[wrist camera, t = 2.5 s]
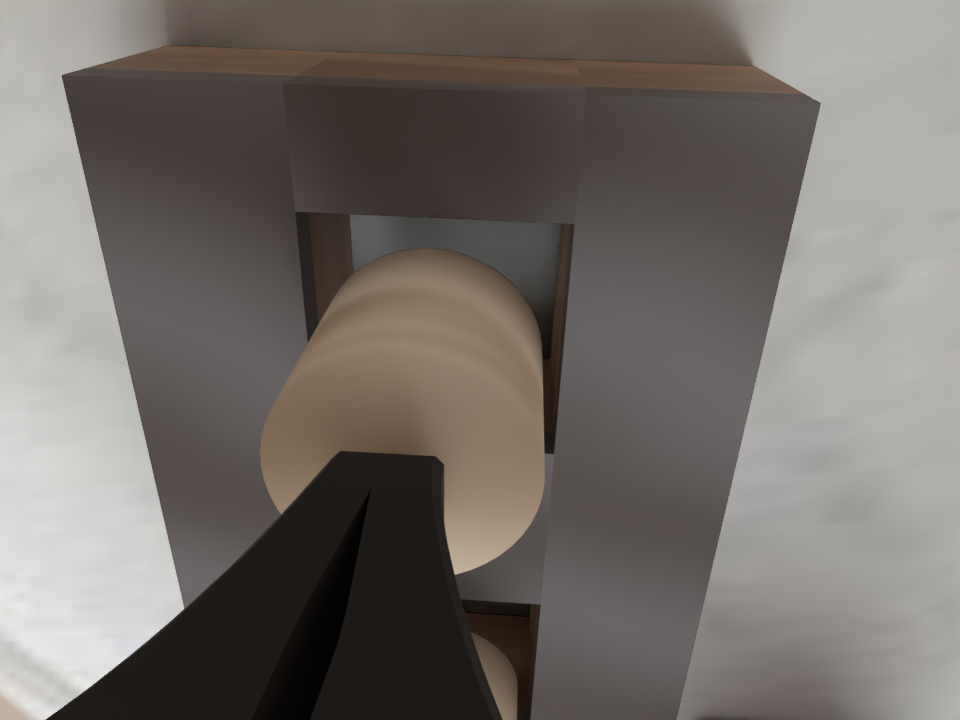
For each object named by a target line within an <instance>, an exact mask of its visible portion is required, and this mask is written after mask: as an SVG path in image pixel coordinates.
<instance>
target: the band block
mask: <svg viewBox="0 0 960 720" xmlns="http://www.w3.org/2000/svg"><path fill="white" fill-rule="evenodd" d="M62 79H63V83H64V88H65V92H66V96H67V101H68V105H69V109H70V114H71V118H72V122H73V127H74V131H75V135H76V140H77V144H78V148H79V153H80V157H81V161H82V166H83V170H84V174H85V179H86V183H87V187H88V192H89V196H90V200H91V205H92V209H93V213H94V218H95V222H96V226H97V231H98V235H99V239H100V244H101V248H102V252H103V257H104V261H105V265H106V270H107V274H108V278H109V283H110V287H111V291H112V296H113V300H114V304H115V309H116V313H117V317H118V322H119V326H120V330H121V335H122V339H123V343H124V348H125V352H126V356H127V361H128V365H129V369H130V374H131V378H132V382H133V387H134V391H135V395H136V400H137V404H138V408H139V413H140V417H141V421H142V426H143V430H144V434H145V439H146V443H147V447H148V452H149V456H150V460H151V465H152V469H153V473H154V478H155V482H156V486H157V491H158V495H159V499H160V504H161V508H162V513H163V517H164V521H165V526H166V530H167V534H168V539H169V543H170V547H171V552H172V556H173V560H174V565H175V569H176V573H177V578H178V582H179V586H180V591H181V595H182V599H183V604H184V608H186V607H187V606H188V605H189V604H190V603H191V602H192V601H194V600H195V599H196V598H197V597H198V596H199V595H200V594H201V593H202V592H203V591H204V590H205V589H207V588H208V587H209V586H210V585H211V584H212V583H213V582H214V581H215V580H216V579H217V578H218V577H220V576H221V575H222V574H223V573H224V572H225V571H226V570H227V569H228V568H229V567H230V566H231V565H232V564H233V563H234V562H235V561H236V560H237V559H238V558H239V557H240V556H241V555H242V554H243V553H244V552H245V551H246V550H247V549H248V548H249V547H250V546H251V545H252V544H253V543H254V542H255V541H256V540H257V539H258V538H259V537H260V536H261V535H262V534H263V533H264V532H265V531H266V530H267V529H268V528H269V527H270V526H271V525H272V523H273V522H274V521H275V520H276V519H277V518H278V517H279V516H280V515H281V513H280V512H279V511H278V509H277V507H276V506H275V504H274V502H273V500H272V498H271V497H270V495H269V492H268V489H267V487H266V484H265V481H264V478H263V473H262V469H261V459H260V446H261V436H262V432H263V428H264V425H265V421H266V419H267V417H268V415H269V413H270V410H271V408H272V406H273V405H274V403H275V401H276V399H277V397H278V396H279V394H280V392H281V390H282V389H283V387H284V385H285V383H286V381H287V380H288V378H289V376H290V374H291V373H292V371H293V369H294V367H295V365H296V364H297V362H298V360H299V358H300V357H301V355H302V353H303V351H304V349H305V348H306V346H307V344H308V342H309V341H310V339H311V337H312V335H313V333H314V332H315V330H316V328H317V326H318V325H319V323H320V321H321V319H322V317H323V316H324V314H325V312H326V310H327V309H328V307H329V305H330V303H331V301H332V300H333V298H334V296H335V295H336V293H337V292H338V290H339V289H340V287H341V286H342V285H343V284H344V283H345V282H346V281H347V279H348V278H349V277H350V276H351V275H353V268H352V252H351V235H350V219H349V214H359V215H382V216H404V217H427V218H450V219H472V220H495V221H518V222H541V223H561V230H560V243H559V255H558V268H557V280H556V293H555V305H554V318H553V330H552V343H551V355H550V358H542V364H543V411H544V457H545V484H544V490H543V496H542V499H541V502H540V505H539V508H538V511H537V513H536V515H535V517H534V519H533V521H532V523H531V524H530V526H529V527H528V528H527V530H526V531H525V532H524V534H523V535H522V536H521V537H520V538H519V539H518V540H517V541H516V542H515V543H514V544H513V545H512V546H511V547H510V548H509V549H508V550H506V551H505V552H504V553H502V554H501V555H500V556H498V557H496V558H495V559H493V560H491V561H489V562H488V563H486V564H484V565H482V566H479V567H477V568H474V569H472V570H469V571H466V572H463V573H459V574H456V575H455V578H456V582H457V587H458V590H459V594H460V598H461V599H462V600H478V601H493V602H508V603H524V604H531V605H530V617H521V616H506V615H491V614H476V613H465V615H466V618H467V621H468V625H469V628H470V631H471V633H474V634H476V635H478V636H480V637H482V638H484V639H486V640H487V641H489V642H490V643H492V644H493V645H495V646H496V647H497V648H498V649H499V650H500V651H501V652H502V653H503V654H504V655H505V656H506V657H507V658H508V660H509V661H510V663H511V664H512V666H513V668H514V671H515V673H516V677H517V683H518V695H517V720H676V718H677V714H678V710H679V705H680V701H681V697H682V693H683V688H684V684H685V680H686V675H687V671H688V667H689V663H690V658H691V654H692V650H693V646H694V641H695V637H696V633H697V629H698V624H699V620H700V616H701V612H702V607H703V603H704V599H705V594H706V590H707V586H708V582H709V577H710V573H711V569H712V565H713V560H714V556H715V552H716V548H717V543H718V539H719V535H720V531H721V526H722V522H723V518H724V513H725V509H726V505H727V501H728V496H729V492H730V488H731V484H732V479H733V475H734V471H735V467H736V462H737V458H738V454H739V450H740V445H741V441H742V437H743V432H744V428H745V424H746V420H747V415H748V411H749V407H750V403H751V398H752V394H753V390H754V386H755V381H756V377H757V373H758V369H759V364H760V360H761V356H762V352H763V347H764V343H765V339H766V334H767V330H768V326H769V322H770V317H771V313H772V309H773V305H774V300H775V296H776V292H777V288H778V283H779V279H780V275H781V271H782V266H783V262H784V258H785V253H786V249H787V245H788V241H789V236H790V232H791V228H792V224H793V219H794V215H795V211H796V207H797V202H798V198H799V194H800V190H801V185H802V181H803V177H804V172H805V168H806V164H807V160H808V155H809V151H810V147H811V143H812V138H813V134H814V130H815V126H816V121H817V117H818V113H819V109H820V104H821V103H819V102H818V101H816V100H814V99H812V98H810V97H809V96H807V95H805V94H803V93H801V92H800V91H798V90H796V89H794V88H793V87H791V86H789V85H787V84H785V83H784V82H782V81H780V80H778V79H777V78H775V77H773V76H771V75H769V74H768V73H766V72H764V71H762V70H760V69H759V68H757V67H755V66H737V65H708V64H679V63H651V62H622V61H594V60H565V59H536V58H508V57H479V56H451V55H422V54H393V53H365V52H336V51H308V50H279V49H250V48H222V47H193V46H164V47H160V48H157V49H153V50H150V51H146V52H143V53H139V54H135V55H132V56H128V57H125V58H121V59H118V60H114V61H111V62H107V63H104V64H100V65H96V66H93V67H89V68H86V69H82V70H79V71H75V72H72V73H68V74H65V75H62Z"/></svg>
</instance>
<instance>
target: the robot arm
mask: <svg viewBox="0 0 960 720" xmlns="http://www.w3.org/2000/svg"><path fill="white" fill-rule="evenodd" d="M46 720H503V719H502V716H501V714H500V711H499V709H498V706H497V704H496V701H495V699H494V696H493V694H492V691H491V689H490V686H489V683H488V681H487V678H486V675H485V672H484V670H483V667H482V664H481V661H480V658H479V655H478V653H477V650H476V647H475V644H474V641H473V637H472V634H471V631H470V628H469V625H468V621H467V618H466V615H465V612H464V608H463V605H462V601H461V598H460V594H459V590H458V587H457V582H456V578H455V574H454V569H453V565H452V561H451V556H450V552H449V548H448V543H447V537H446V531H445V524H444V464H443V463H442V462H441V461H440V460H439V459H438V458H437V457H436V456H423V455H406V454H388V453H371V452H353V451H340V452H338V453H337V454H336V455H335V456H333V457H332V458H331V459H330V461H329V462H328V463H327V464H326V465H325V466H324V467H323V469H322V470H321V471H320V472H319V473H318V474H317V475H316V476H315V478H314V479H313V480H312V481H311V482H310V483H309V484H308V485H307V487H306V488H305V489H304V490H303V491H302V492H301V493H300V494H299V495H298V497H297V498H296V499H295V500H294V501H293V502H292V503H291V504H290V505H289V506H288V507H287V509H286V510H285V511H284V512H283V513H282V514H281V515H280V516H279V517H278V518H277V519H276V520H275V521H274V522H273V523H272V525H271V526H270V527H269V528H268V529H267V530H266V531H265V532H264V533H263V534H262V535H261V536H260V537H259V538H258V539H257V540H256V541H255V542H254V543H253V544H252V545H251V546H250V547H249V548H248V549H247V550H246V551H245V552H244V553H243V554H242V555H241V556H240V557H239V558H238V559H237V560H236V561H235V562H234V563H233V564H232V565H231V566H230V567H229V568H228V569H227V570H226V571H225V572H224V573H223V574H222V575H221V576H220V577H218V578H217V579H216V580H215V581H214V582H213V583H212V584H211V585H210V586H209V587H208V588H207V589H205V590H204V591H203V592H202V593H201V594H200V595H199V596H198V597H197V598H196V599H195V600H194V601H192V602H191V603H190V604H189V605H188V606H187V607H186V608H185V609H184V610H183V611H182V612H181V613H179V614H178V615H177V616H176V617H175V618H174V619H173V620H172V621H171V622H169V623H168V624H167V625H166V626H165V627H164V628H162V629H161V630H160V631H159V632H158V633H157V634H155V635H154V636H153V637H152V638H151V639H150V640H148V641H147V642H146V643H145V644H144V645H142V646H141V647H140V648H139V649H137V650H136V651H135V652H134V653H133V654H131V655H130V656H129V657H128V658H126V659H125V660H124V661H123V662H121V663H120V664H119V665H118V666H116V667H115V668H114V669H113V670H111V671H110V672H109V673H108V674H106V675H105V676H104V677H102V678H101V679H100V680H99V681H97V682H96V683H95V684H94V685H92V686H91V687H90V688H88V689H87V690H86V691H84V692H83V693H82V694H80V695H79V696H78V697H76V698H75V699H73V700H72V701H71V702H69V703H68V704H67V705H65V706H64V707H63V708H61V709H60V710H58V711H57V712H56V713H54V714H53V715H52V716H50V717H49V718H47V719H46Z"/></svg>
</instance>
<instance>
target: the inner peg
mask: <svg viewBox="0 0 960 720" xmlns="http://www.w3.org/2000/svg"><path fill="white" fill-rule="evenodd" d="M471 634H472V637H473V641H474V644H475V647H476V650H477V653H478V655H479V658H480V661H481V664H482V667H483V670H484V672H485V675H486V678H487V681H488V683H489V686H490V689H491V691H492V694H493V696H494V699H495V701H496V704H497V706H498V709H499V711H500V714H501V716H502V719H503V720H517V695H518V683H517V677H516V673H515V671H514V668H513V666H512V664H511V663H510V661H509V660H508V658H507V657H506V656H505V655H504V654H503V653H502V652H501V651H500V650H499V649H498V648H497V647H496V646H495V645H493V644H492V643H490V642H489V641H487V640H486V639H484V638H482V637H480V636H478V635H476V634H474V633H471Z"/></svg>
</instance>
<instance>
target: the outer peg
mask: <svg viewBox="0 0 960 720" xmlns="http://www.w3.org/2000/svg"><path fill="white" fill-rule="evenodd" d="M340 451H353V452H371V453H388V454H406V455H423V456H436V457H437V458H438V459H439V460H440V461H441V462H442V463H443V464H444V524H445V531H446V537H447V543H448V548H449V552H450V556H451V561H452V565H453V569H454V574H455V575H456V574H459V573H463V572H466V571H469V570H472V569H474V568H477V567H479V566H482V565H484V564H486V563H488V562H489V561H491V560H493V559H495V558H496V557H498V556H500V555H501V554H502V553H504V552H505V551H506V550H508V549H509V548H510V547H511V546H512V545H513V544H514V543H515V542H516V541H517V540H518V539H519V538H520V537H521V536H522V535H523V534H524V532H525V531H526V530H527V528H528V527H529V526H530V524H531V523H532V521H533V519H534V517H535V515H536V513H537V511H538V508H539V505H540V502H541V499H542V496H543V490H544V484H545V457H544V411H543V364H542V341H541V335H540V330H539V327H538V324H537V320H536V318H535V316H534V314H533V311H532V309H531V307H530V306H529V304H528V302H527V301H526V299H525V298H524V296H523V295H522V294H521V293H520V291H519V290H518V289H517V288H516V287H515V286H514V284H513V283H511V282H510V281H509V280H508V279H507V278H506V277H505V276H504V275H502V274H501V273H500V272H498V271H497V270H495V269H494V268H492V267H491V266H489V265H487V264H485V263H483V262H481V261H480V260H478V259H475V258H473V257H470V256H467V255H465V254H462V253H458V252H453V251H449V250H443V249H434V248H416V249H409V250H402V251H398V252H394V253H391V254H387V255H384V256H382V257H380V258H377V259H375V260H373V261H371V262H370V263H368V264H366V265H365V266H363V267H361V268H360V269H359V270H358V271H356V272H355V273H354V274H353V275H351V276H350V277H349V278H348V279H347V281H346V282H345V283H344V284H343V285H342V286H341V287H340V289H339V290H338V292H337V293H336V295H335V296H334V298H333V300H332V301H331V303H330V305H329V307H328V309H327V310H326V312H325V314H324V316H323V317H322V319H321V321H320V323H319V325H318V326H317V328H316V330H315V332H314V333H313V335H312V337H311V339H310V341H309V342H308V344H307V346H306V348H305V349H304V351H303V353H302V355H301V357H300V358H299V360H298V362H297V364H296V365H295V367H294V369H293V371H292V373H291V374H290V376H289V378H288V380H287V381H286V383H285V385H284V387H283V389H282V390H281V392H280V394H279V396H278V397H277V399H276V401H275V403H274V405H273V406H272V408H271V410H270V413H269V415H268V417H267V419H266V421H265V425H264V428H263V432H262V436H261V446H260V459H261V469H262V473H263V478H264V481H265V484H266V487H267V489H268V492H269V495H270V497H271V498H272V500H273V502H274V504H275V506H276V507H277V509H278V511H279V512H280V513H281V514H282V513H283V512H284V511H285V510H286V509H287V507H288V506H289V505H290V504H291V503H292V502H293V501H294V500H295V499H296V498H297V497H298V495H299V494H300V493H301V492H302V491H303V490H304V489H305V488H306V487H307V485H308V484H309V483H310V482H311V481H312V480H313V479H314V478H315V476H316V475H317V474H318V473H319V472H320V471H321V470H322V469H323V467H324V466H325V465H326V464H327V463H328V462H329V461H330V459H331V458H332V457H333V456H335V455H336V454H337V453H338V452H340Z"/></svg>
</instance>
